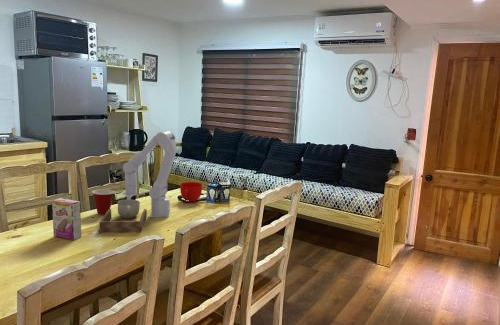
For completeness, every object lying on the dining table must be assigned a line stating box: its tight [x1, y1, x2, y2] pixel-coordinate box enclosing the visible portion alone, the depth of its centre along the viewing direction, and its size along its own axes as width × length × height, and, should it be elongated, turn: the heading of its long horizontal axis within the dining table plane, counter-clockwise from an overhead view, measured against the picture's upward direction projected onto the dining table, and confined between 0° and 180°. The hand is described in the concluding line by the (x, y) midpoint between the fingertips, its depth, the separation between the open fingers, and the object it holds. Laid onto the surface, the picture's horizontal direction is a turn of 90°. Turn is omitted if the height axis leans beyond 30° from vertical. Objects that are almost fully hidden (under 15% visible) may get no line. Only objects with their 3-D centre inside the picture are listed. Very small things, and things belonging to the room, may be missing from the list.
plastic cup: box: [91, 189, 115, 216], centre depth 202 cm, size 11×11×12 cm
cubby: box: [98, 208, 148, 234], centre depth 186 cm, size 18×19×5 cm
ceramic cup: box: [179, 181, 203, 202], centre depth 229 cm, size 13×17×10 cm
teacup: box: [117, 198, 141, 219], centre depth 197 cm, size 14×11×8 cm
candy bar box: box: [51, 197, 82, 241], centre depth 168 cm, size 11×5×16 cm, turn 71°
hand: (131, 209), depth 206 cm, fingers closed
